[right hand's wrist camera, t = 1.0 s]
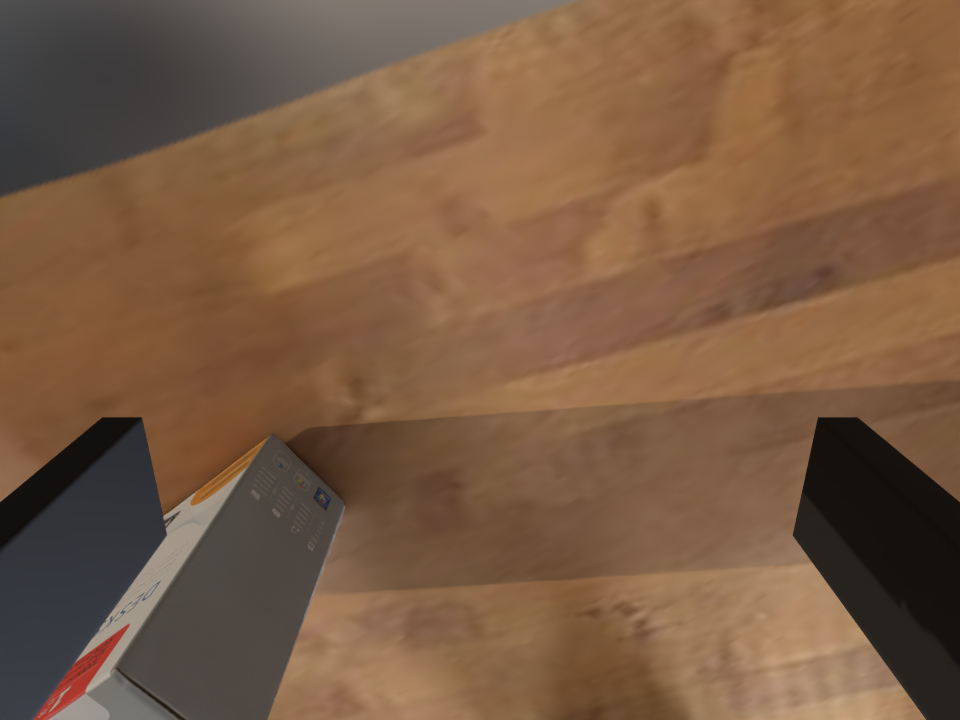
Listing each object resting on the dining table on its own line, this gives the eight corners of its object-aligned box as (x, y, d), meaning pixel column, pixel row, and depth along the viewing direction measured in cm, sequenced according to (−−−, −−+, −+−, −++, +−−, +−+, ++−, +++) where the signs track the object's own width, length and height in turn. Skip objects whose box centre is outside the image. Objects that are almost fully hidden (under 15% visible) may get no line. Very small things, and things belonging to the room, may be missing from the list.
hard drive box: (273, 427, 44) (120, 666, 25) (350, 503, 46) (261, 774, 27) (121, 545, 47) (-112, 831, 29) (199, 610, 49) (30, 914, 31)
